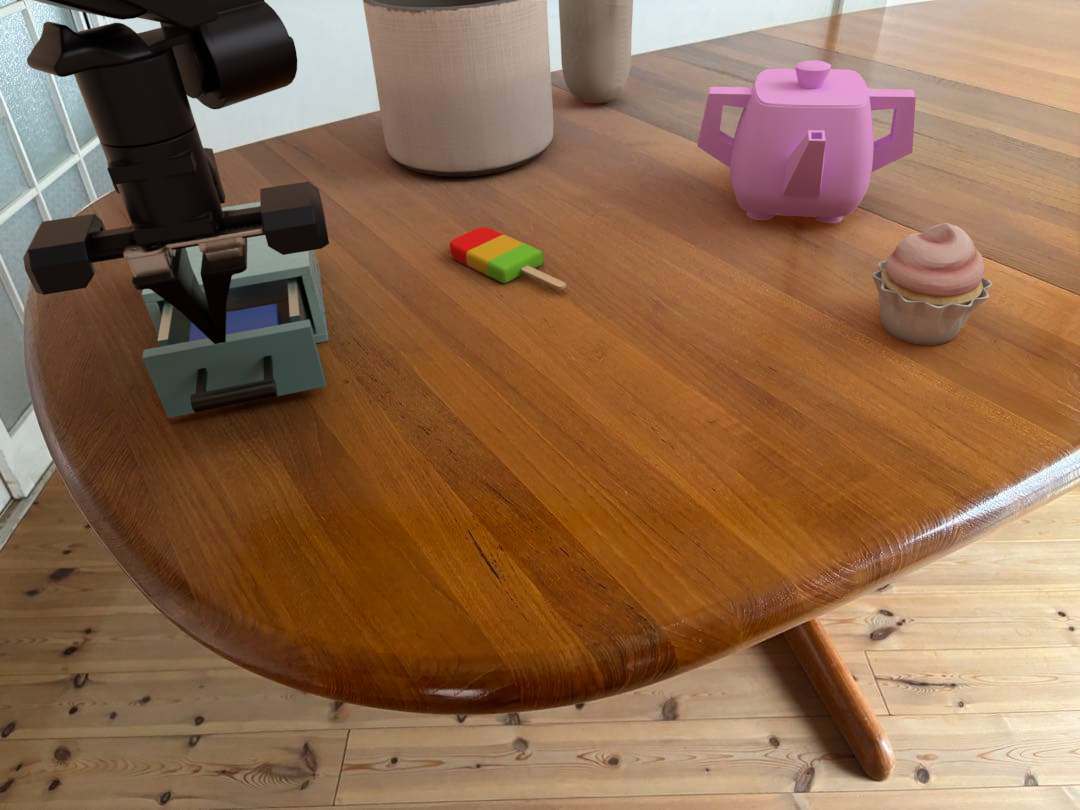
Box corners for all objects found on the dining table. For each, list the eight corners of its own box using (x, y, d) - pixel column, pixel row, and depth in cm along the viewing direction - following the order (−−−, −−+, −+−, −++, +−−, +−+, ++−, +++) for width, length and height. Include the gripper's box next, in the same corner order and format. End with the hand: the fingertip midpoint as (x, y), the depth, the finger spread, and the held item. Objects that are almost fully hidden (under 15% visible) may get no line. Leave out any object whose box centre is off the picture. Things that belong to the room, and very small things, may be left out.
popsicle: (485, 239, 90) (483, 223, 89) (584, 284, 81) (583, 267, 80) (446, 257, 87) (443, 241, 86) (544, 306, 78) (543, 289, 77)
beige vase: (550, 101, 125) (541, -114, 108) (601, 86, 130) (600, -123, 113) (591, 116, 119) (588, -110, 102) (643, 100, 124) (649, -119, 106)
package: (288, 366, 68) (278, 330, 66) (202, 384, 67) (188, 347, 65) (286, 338, 72) (276, 302, 70) (204, 354, 71) (190, 318, 68)
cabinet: (328, 341, 75) (309, 265, 70) (172, 370, 73) (141, 294, 68) (318, 263, 87) (301, 194, 83) (183, 287, 85) (158, 217, 80)
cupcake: (842, 331, 72) (864, 226, 66) (891, 289, 77) (916, 188, 71) (949, 371, 67) (983, 261, 60) (994, 323, 72) (1030, 217, 66)
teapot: (799, 256, 83) (824, 105, 74) (676, 200, 95) (683, 64, 86) (916, 203, 91) (951, 61, 82) (789, 158, 103) (807, 30, 94)
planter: (584, 157, 107) (581, -12, 94) (421, 197, 100) (394, 19, 87) (512, 110, 123) (501, -40, 111) (367, 141, 116) (338, -15, 104)
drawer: (330, 422, 64) (313, 360, 60) (162, 457, 62) (134, 394, 58) (316, 301, 79) (302, 246, 75) (180, 326, 77) (159, 270, 73)
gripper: (295, 76, 59) (338, 269, 69) (16, 112, 56) (102, 310, 65) (301, 125, 50) (350, 338, 60) (-28, 171, 47) (79, 388, 57)
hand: (220, 340), depth 61 cm, fingers closed
